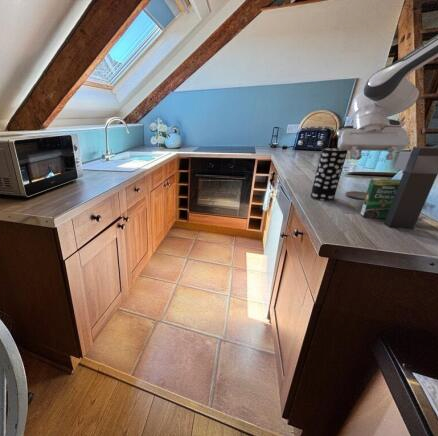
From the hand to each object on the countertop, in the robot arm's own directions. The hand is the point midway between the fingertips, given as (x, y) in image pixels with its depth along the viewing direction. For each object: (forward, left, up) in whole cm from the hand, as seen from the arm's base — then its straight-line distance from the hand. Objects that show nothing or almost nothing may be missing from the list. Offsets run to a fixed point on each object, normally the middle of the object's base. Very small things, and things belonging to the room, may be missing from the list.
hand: (374, 158), depth 87 cm
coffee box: (+4, +11, -18) cm, 22 cm away
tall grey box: (+3, +16, -18) cm, 24 cm away
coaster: (-11, -10, -18) cm, 23 cm away
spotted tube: (+6, -11, -18) cm, 22 cm away
